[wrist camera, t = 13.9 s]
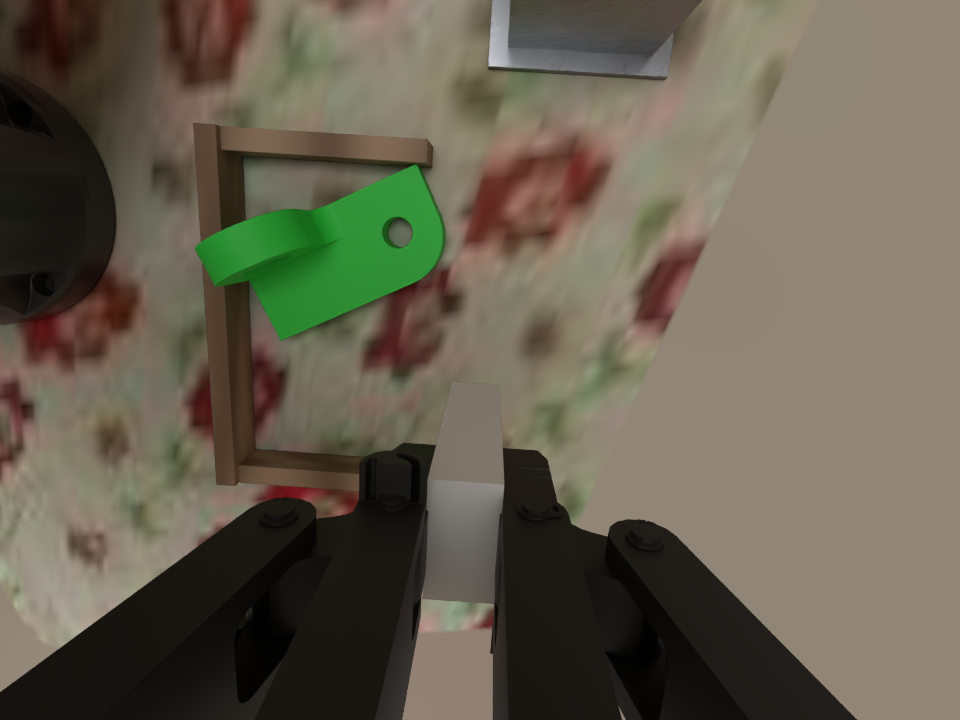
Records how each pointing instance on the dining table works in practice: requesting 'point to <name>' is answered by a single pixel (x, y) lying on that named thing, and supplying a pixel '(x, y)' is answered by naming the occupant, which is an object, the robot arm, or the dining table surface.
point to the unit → (586, 36)
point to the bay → (230, 303)
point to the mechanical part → (330, 252)
